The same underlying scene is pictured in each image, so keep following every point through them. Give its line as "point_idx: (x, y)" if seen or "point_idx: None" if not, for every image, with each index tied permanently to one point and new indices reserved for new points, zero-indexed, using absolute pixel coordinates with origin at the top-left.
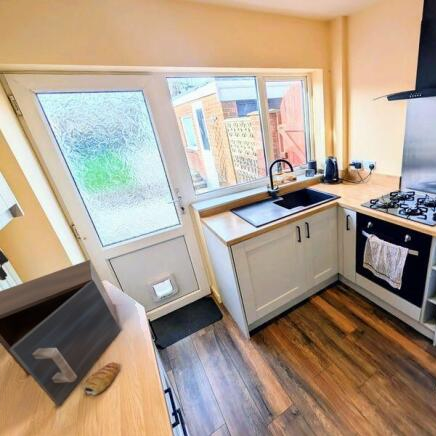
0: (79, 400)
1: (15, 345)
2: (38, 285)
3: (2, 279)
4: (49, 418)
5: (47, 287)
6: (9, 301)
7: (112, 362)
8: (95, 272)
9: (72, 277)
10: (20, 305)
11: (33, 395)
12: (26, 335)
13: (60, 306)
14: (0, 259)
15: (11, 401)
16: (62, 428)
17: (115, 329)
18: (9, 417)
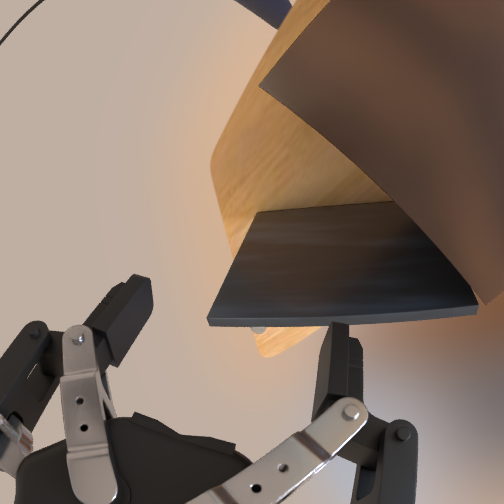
0: None
1: (217, 323)
2: (488, 90)
3: (319, 357)
4: (239, 218)
5: (474, 156)
6: (383, 54)
7: None
8: None
9: None
10: (363, 151)
11: (262, 143)
12: (245, 322)
13: (355, 317)
14: (356, 477)
15: (244, 108)
16: (234, 251)
17: None
18: (223, 141)
